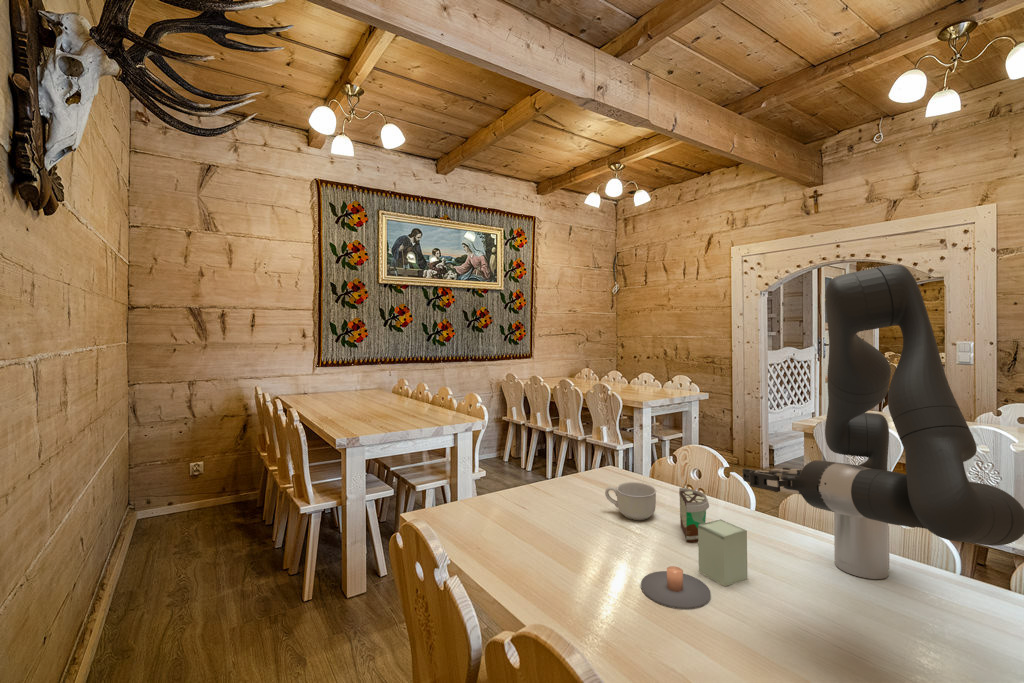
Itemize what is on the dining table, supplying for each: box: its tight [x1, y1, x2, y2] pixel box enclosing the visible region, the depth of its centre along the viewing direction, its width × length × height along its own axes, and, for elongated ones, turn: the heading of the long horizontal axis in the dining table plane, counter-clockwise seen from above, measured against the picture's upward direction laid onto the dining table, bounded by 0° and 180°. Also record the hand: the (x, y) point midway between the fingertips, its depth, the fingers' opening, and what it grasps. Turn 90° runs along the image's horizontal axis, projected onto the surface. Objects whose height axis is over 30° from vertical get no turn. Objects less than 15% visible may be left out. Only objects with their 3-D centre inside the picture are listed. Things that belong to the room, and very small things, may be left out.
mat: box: [640, 570, 712, 610], centre depth 93 cm, size 13×13×1 cm
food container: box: [678, 487, 710, 544], centre depth 118 cm, size 12×6×10 cm, turn 168°
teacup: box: [604, 481, 657, 521], centre depth 132 cm, size 14×11×8 cm
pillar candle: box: [666, 565, 684, 592], centre depth 93 cm, size 3×3×4 cm
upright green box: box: [697, 519, 748, 587], centre depth 98 cm, size 7×7×10 cm
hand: (764, 474), depth 87 cm, fingers open, 8 cm apart
